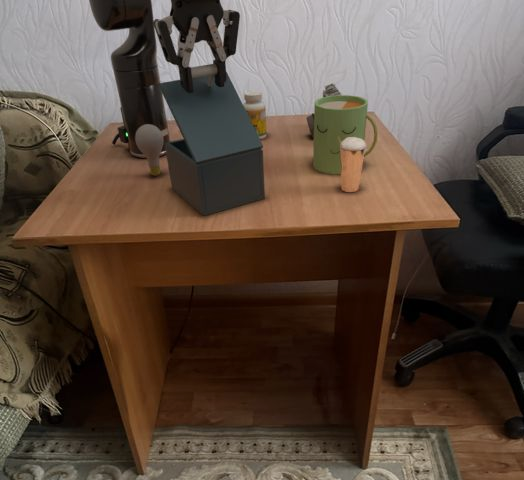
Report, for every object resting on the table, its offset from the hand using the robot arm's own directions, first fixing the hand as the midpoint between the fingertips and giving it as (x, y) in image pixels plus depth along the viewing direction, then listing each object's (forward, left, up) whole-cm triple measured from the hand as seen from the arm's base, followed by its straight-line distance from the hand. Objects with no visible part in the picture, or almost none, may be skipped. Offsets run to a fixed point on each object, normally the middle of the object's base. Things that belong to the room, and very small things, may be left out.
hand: (204, 88), depth 82 cm
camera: (-5, +39, -18) cm, 43 cm away
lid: (+1, 0, -4) cm, 5 cm away
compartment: (0, 0, -18) cm, 18 cm away
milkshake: (+18, +17, -18) cm, 31 cm away
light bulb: (-17, -2, -18) cm, 25 cm away
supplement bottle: (-18, +28, -18) cm, 38 cm away
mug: (+10, +26, -18) cm, 33 cm away
